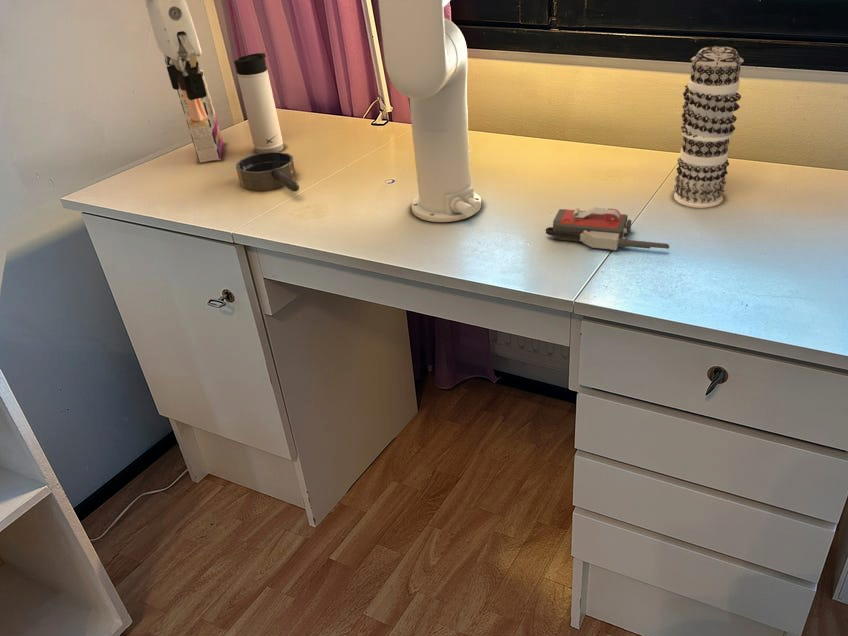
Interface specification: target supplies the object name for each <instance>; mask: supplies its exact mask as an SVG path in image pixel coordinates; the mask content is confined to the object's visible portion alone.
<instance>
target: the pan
mask: <svg viewBox="0 0 848 636" xmlns="http://www.w3.org/2000/svg"><path fill="white" fill-rule="evenodd" d="M235 165H236V166H235V169H236V172H237V176H238V179H239V180H238V181H239V184H240V185H241V187H243V188H245V189H247V190H249V191H254V192H269V191H274V190H278V189H282V188H285V186H284V185H283V184H281V183H280V182H279V181H277V180H276V179H274V178H273V172H274V171H275V170H279V171H281V172H282V173H284V174H285V175H286V176H288V177H289V178H291V179H292V180H294V181H295V179H296V178H297V170H296V166H295V161H294V156H293V155H291V154H290V153H288V152H283V151H279V152H265V153H255V154H250V155H248V156H246V157H244V158H241V159H240V160H239V161H238V162H236V164H235Z"/></svg>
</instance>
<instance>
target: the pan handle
mask: <svg viewBox="0 0 848 636" xmlns="http://www.w3.org/2000/svg"><path fill="white" fill-rule="evenodd" d="M273 178H274V179H276V180H277V181H279V182H280V183H281V184H283V185H284V187H286V188H287V189H288V190H290V191H292V192H293V193H296V192H298V191H299V190H300V185H299V183H298V182H296V181H295V179H294V180H292V179H291V178H289V177H288V176H286V175H285V174H284V173H282V172H281V171H279V170H275V171H274V172H273Z"/></svg>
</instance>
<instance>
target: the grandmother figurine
mask: <svg viewBox="0 0 848 636" xmlns="http://www.w3.org/2000/svg"><path fill="white" fill-rule="evenodd" d="M185 55H186V54H183V55H179V56H185ZM169 63H170V64H171V65H175V67H176V69H177V70H179V73H178V77H177V82H178V84H179V89H180V90H182V92H183V95H184V98H185V101H186V103H187V105H188V111H189V117H190V119H191V120H190V121H189V124H190V125H193V126H194V127H203V126H207V125H209V122H208V121H207V120H204V119H205V118H207V114H206V112H205V109H204V107H203V104H202V102H201V100H200V98H198V99H194V100H189V99H188V97H187V94H186V90H185V86H184V83H183V79H182V76H184V75H183V73H182V70H181V68H180V66H179V63H178V61H176V60H174V59H172V58H171V59H170V62H169ZM183 63H184V65H185V66H186V64H185V63H186V61H185V62H183Z"/></svg>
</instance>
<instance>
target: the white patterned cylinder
mask: <svg viewBox="0 0 848 636" xmlns="http://www.w3.org/2000/svg"><path fill="white" fill-rule="evenodd" d="M690 62H691V70H690V77H689V78H688V83H687V84H686V85H684V91H683V92H682V96H683V100H684V102H683V104H682V109H683V113H681V120H682V125H681V127H680V129H681V135H682V136H683V137H682V138H683V139H682V146H681V147H680V155H679V158H677V165H678V166H677V167H676V173H677V175H676V176H675V178H674V181H675V185H674V186H673V187H674V193H673V198H674V200H675V201H676V202H677V203H678V204H680V205H683V206H686V207H691V208H697V209H698V208H701V209H705V208H712V207H715V206H718V205H720V204H721V203H722V202H723V201H724V198H723V197H724V196H723V194H724V193H725V191H726V190H725V185H726V184H727V180H726V175H727V174H728V170H727V168H728V166H729V165H730V162H729V159H728V157H729V152H730V151H729V145H730V139H731V138H732V137H733V135H734V131H735V130H736V126H734V123H736V121H737V119H738V118H737V116H735V115H734V112H736V111H737V110H739V109H740V105H739V104H738V103H737V102H738V101H740V100H741V98H742V95H741V94H740V93H739V87H740V82H741V81H740V80H741V79H740V74H741V65H742V64H743V63H744V58H742V57H740V55H739V53H738V51H737V50H736V49H735V48H733V47H731V46H722V45H711V46H706V47H703V48H701V49H700V50H699V51H698V52H697V53H696V55H694V56H692V58H690Z"/></svg>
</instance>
